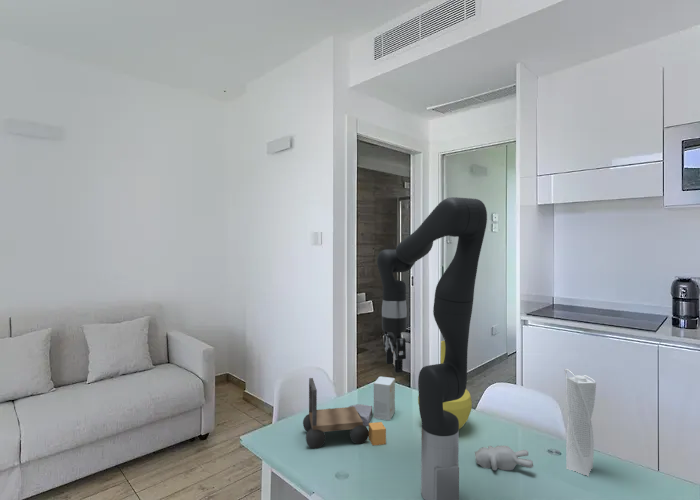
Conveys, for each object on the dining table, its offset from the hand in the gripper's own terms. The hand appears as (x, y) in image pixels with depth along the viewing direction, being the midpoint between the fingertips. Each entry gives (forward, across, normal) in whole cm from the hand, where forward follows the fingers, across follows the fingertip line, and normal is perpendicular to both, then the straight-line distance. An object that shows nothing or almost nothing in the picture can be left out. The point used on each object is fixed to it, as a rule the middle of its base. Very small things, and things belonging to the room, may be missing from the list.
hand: (393, 367), depth 120 cm
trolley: (+26, +13, +16) cm, 33 cm away
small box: (+26, +26, -5) cm, 37 cm away
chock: (+26, +8, +3) cm, 28 cm away
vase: (+26, +13, -23) cm, 37 cm away
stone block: (+27, +25, +6) cm, 37 cm away
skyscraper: (+26, -19, -49) cm, 59 cm away
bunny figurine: (+26, -13, -28) cm, 41 cm away
